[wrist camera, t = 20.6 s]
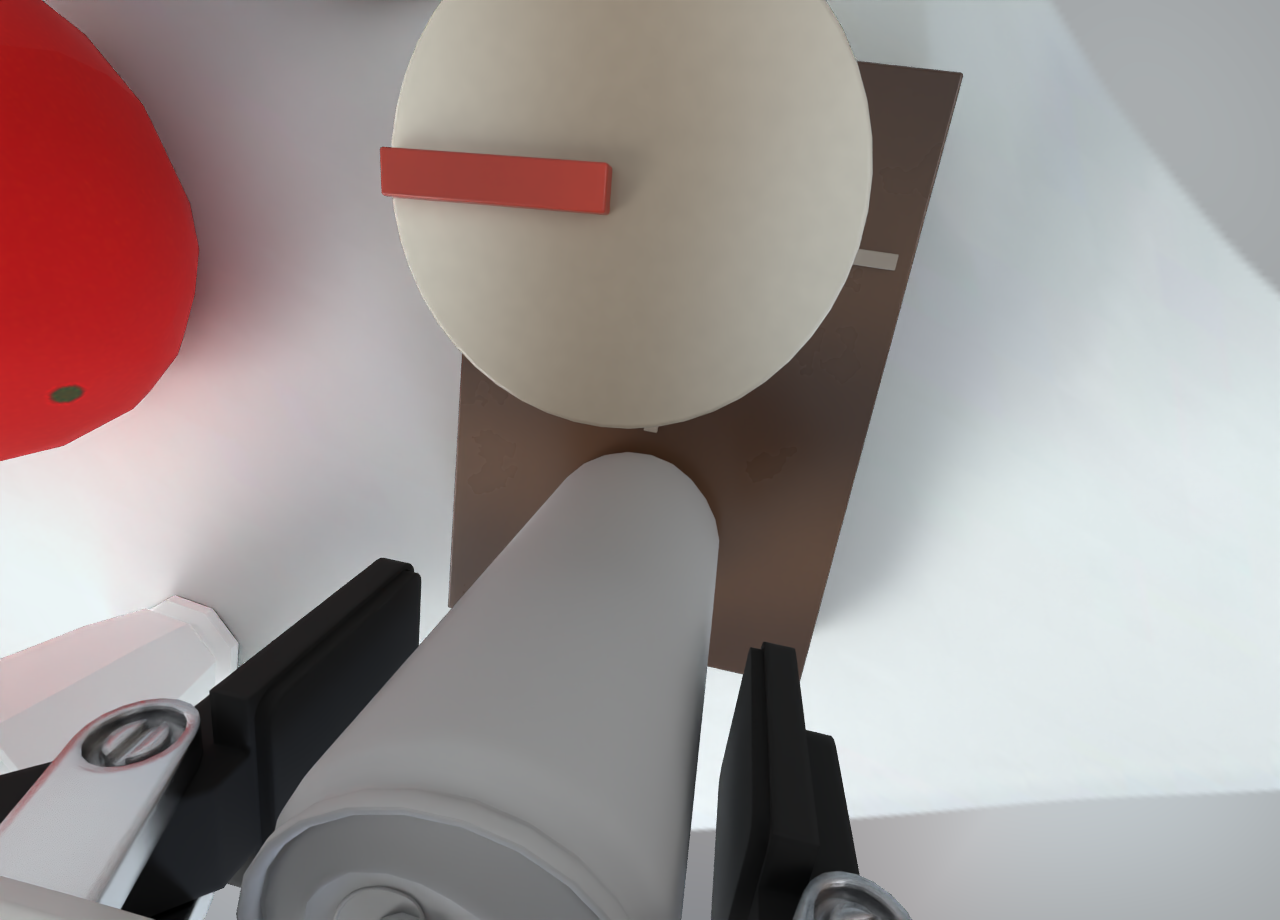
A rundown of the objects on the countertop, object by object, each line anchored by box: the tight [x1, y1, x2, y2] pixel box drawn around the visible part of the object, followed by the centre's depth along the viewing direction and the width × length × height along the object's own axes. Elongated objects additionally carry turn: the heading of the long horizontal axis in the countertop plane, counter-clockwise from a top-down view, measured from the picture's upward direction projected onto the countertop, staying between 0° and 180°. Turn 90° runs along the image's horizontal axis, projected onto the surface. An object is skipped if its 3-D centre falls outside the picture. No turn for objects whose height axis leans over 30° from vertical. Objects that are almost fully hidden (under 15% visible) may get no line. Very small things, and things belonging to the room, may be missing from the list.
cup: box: [0, 595, 239, 775], centre depth 22 cm, size 7×10×8 cm
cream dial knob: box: [380, 0, 873, 429], centre depth 11 cm, size 6×6×8 cm
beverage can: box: [236, 452, 719, 920], centre depth 12 cm, size 5×5×12 cm
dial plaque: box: [448, 61, 963, 681], centre depth 17 cm, size 17×11×3 cm, turn 172°
